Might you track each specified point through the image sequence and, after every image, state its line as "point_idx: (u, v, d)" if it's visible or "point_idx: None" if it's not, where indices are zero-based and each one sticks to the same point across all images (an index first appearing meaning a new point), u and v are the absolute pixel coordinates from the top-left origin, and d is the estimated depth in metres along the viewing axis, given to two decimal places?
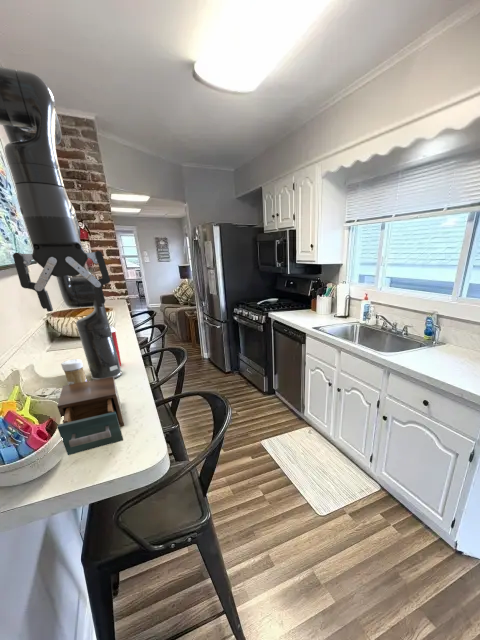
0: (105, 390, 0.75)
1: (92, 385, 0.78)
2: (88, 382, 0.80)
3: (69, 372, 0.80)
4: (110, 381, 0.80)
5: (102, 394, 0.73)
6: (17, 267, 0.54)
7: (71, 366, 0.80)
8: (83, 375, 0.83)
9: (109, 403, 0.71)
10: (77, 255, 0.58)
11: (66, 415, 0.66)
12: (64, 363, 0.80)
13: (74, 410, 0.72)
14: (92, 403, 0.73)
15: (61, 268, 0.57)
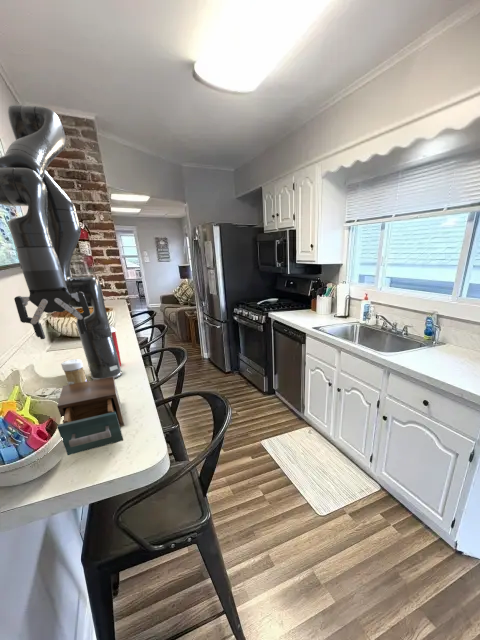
0: (105, 390, 0.75)
1: (92, 385, 0.78)
2: (88, 382, 0.80)
3: (69, 372, 0.80)
4: (110, 381, 0.80)
5: (102, 394, 0.73)
6: (17, 307, 0.72)
7: (71, 366, 0.80)
8: (83, 375, 0.83)
9: (109, 403, 0.71)
10: (63, 296, 0.75)
11: (66, 415, 0.66)
12: (64, 363, 0.80)
13: (74, 410, 0.72)
14: (92, 403, 0.73)
15: (51, 306, 0.75)
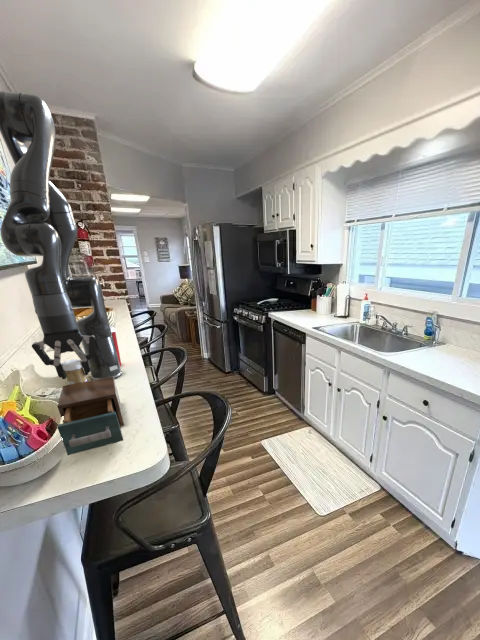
0: (105, 390, 0.75)
1: (92, 385, 0.78)
2: (88, 382, 0.80)
3: (69, 372, 0.80)
4: (110, 381, 0.80)
5: (102, 394, 0.73)
6: (37, 353, 0.76)
7: (71, 366, 0.80)
8: (83, 375, 0.83)
9: (109, 403, 0.71)
10: (75, 336, 0.79)
11: (66, 415, 0.66)
12: (65, 363, 0.80)
13: (74, 410, 0.72)
14: (92, 403, 0.73)
15: (64, 347, 0.79)
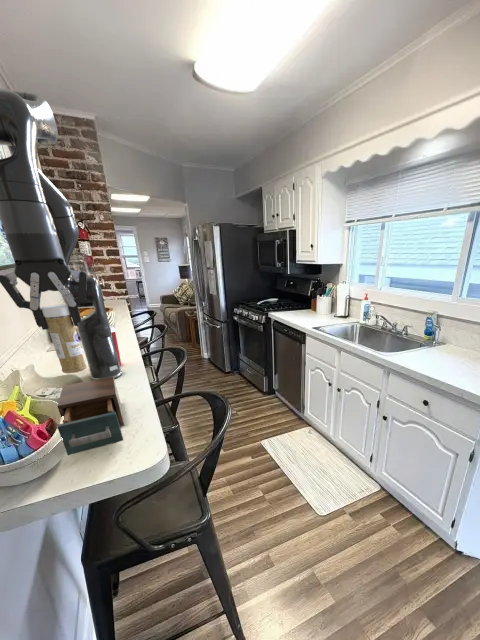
0: (105, 390, 0.75)
1: (92, 385, 0.78)
2: (88, 382, 0.80)
3: (52, 319, 0.59)
4: (110, 381, 0.80)
5: (102, 394, 0.73)
6: (6, 289, 0.55)
7: (55, 311, 0.59)
8: (71, 326, 0.62)
9: (109, 403, 0.71)
10: (60, 269, 0.58)
11: (66, 415, 0.66)
12: (45, 307, 0.59)
13: (74, 410, 0.72)
14: (92, 403, 0.73)
15: (44, 283, 0.57)
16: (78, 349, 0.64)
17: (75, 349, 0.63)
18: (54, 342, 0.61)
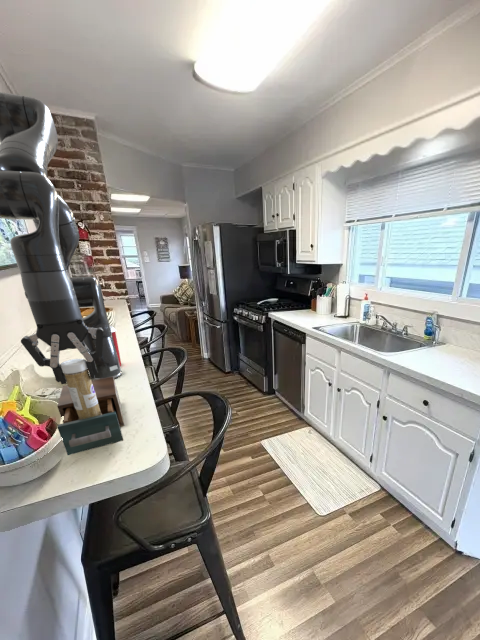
0: (105, 390, 0.75)
1: None
2: None
3: (70, 375, 0.62)
4: (110, 381, 0.80)
5: (102, 394, 0.73)
6: (29, 351, 0.58)
7: (73, 368, 0.62)
8: (88, 379, 0.65)
9: (109, 403, 0.71)
10: (78, 329, 0.61)
11: (66, 415, 0.66)
12: (64, 364, 0.62)
13: (74, 410, 0.72)
14: None
15: (63, 342, 0.60)
16: (95, 400, 0.67)
17: (91, 400, 0.66)
18: (72, 395, 0.64)
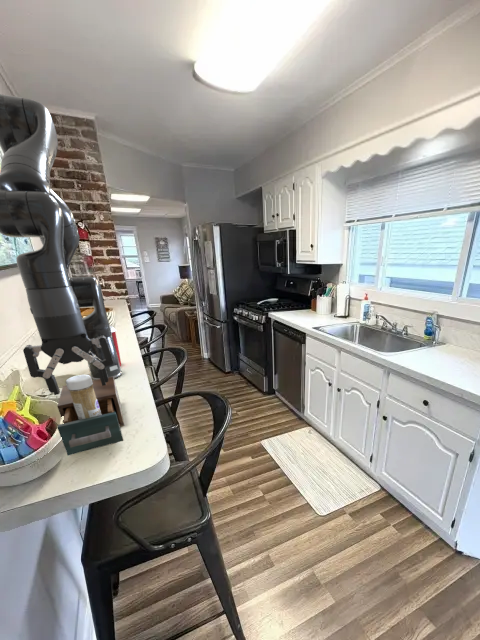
0: (105, 390, 0.75)
1: None
2: None
3: (75, 391, 0.63)
4: (110, 381, 0.80)
5: (102, 394, 0.73)
6: (27, 360, 0.58)
7: (78, 385, 0.63)
8: (93, 395, 0.66)
9: (109, 403, 0.71)
10: (82, 343, 0.62)
11: (66, 415, 0.66)
12: (70, 381, 0.63)
13: (74, 410, 0.72)
14: None
15: (67, 356, 0.61)
16: None
17: (96, 415, 0.67)
18: (77, 411, 0.65)
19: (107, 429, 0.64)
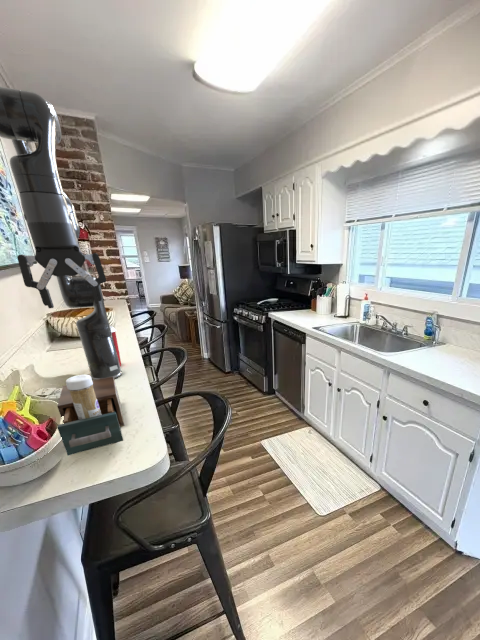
0: (105, 390, 0.75)
1: None
2: None
3: (75, 391, 0.63)
4: (110, 381, 0.80)
5: (102, 394, 0.73)
6: (21, 268, 0.60)
7: (78, 385, 0.63)
8: (93, 395, 0.66)
9: (109, 403, 0.71)
10: (75, 257, 0.63)
11: (66, 415, 0.66)
12: (70, 381, 0.63)
13: (74, 410, 0.72)
14: None
15: (61, 269, 0.63)
16: None
17: (96, 415, 0.67)
18: (77, 411, 0.65)
19: (107, 429, 0.64)
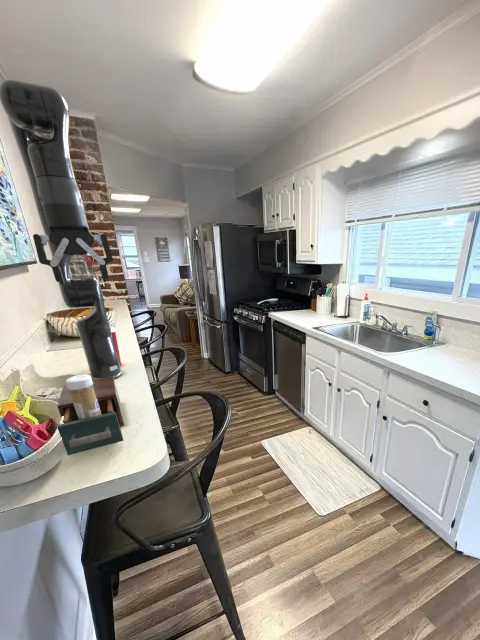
0: (105, 390, 0.75)
1: None
2: None
3: (75, 391, 0.63)
4: (110, 381, 0.80)
5: (102, 394, 0.73)
6: (36, 246, 0.66)
7: (78, 385, 0.63)
8: (93, 395, 0.66)
9: (109, 403, 0.71)
10: (85, 237, 0.69)
11: (66, 415, 0.66)
12: (70, 381, 0.63)
13: (74, 410, 0.72)
14: None
15: (72, 248, 0.69)
16: None
17: (96, 415, 0.67)
18: (77, 411, 0.65)
19: (107, 429, 0.64)
